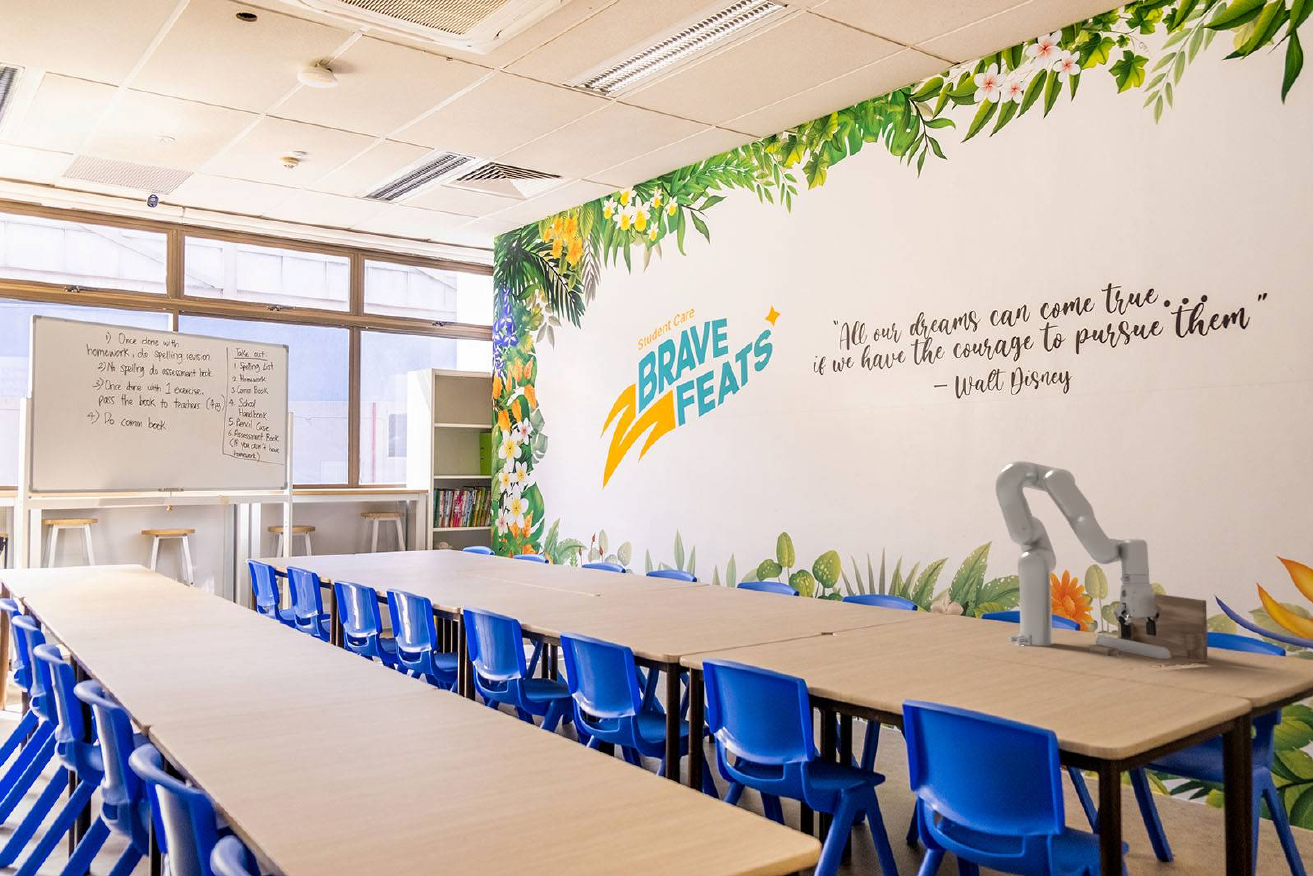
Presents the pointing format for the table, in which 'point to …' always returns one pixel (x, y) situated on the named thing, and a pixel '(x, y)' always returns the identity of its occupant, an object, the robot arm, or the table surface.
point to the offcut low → (1110, 656)
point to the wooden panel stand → (1175, 627)
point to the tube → (1134, 647)
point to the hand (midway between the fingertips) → (1138, 636)
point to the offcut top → (1104, 650)
